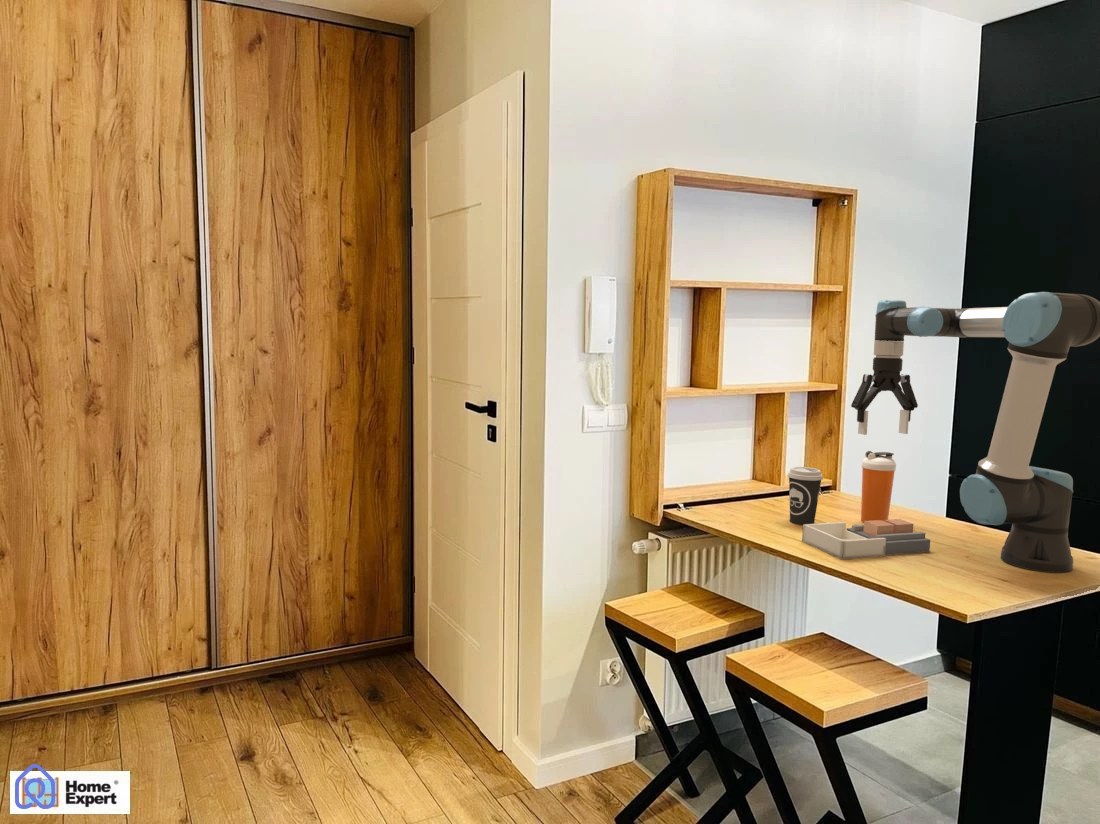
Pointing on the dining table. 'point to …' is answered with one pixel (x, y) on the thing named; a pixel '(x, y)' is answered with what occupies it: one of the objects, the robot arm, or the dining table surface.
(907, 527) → the tile
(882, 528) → the tile
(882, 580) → the dining table surface
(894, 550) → the grey railed fixture
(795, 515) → the coffee cup
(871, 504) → the shaker bottle
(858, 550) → the tray
